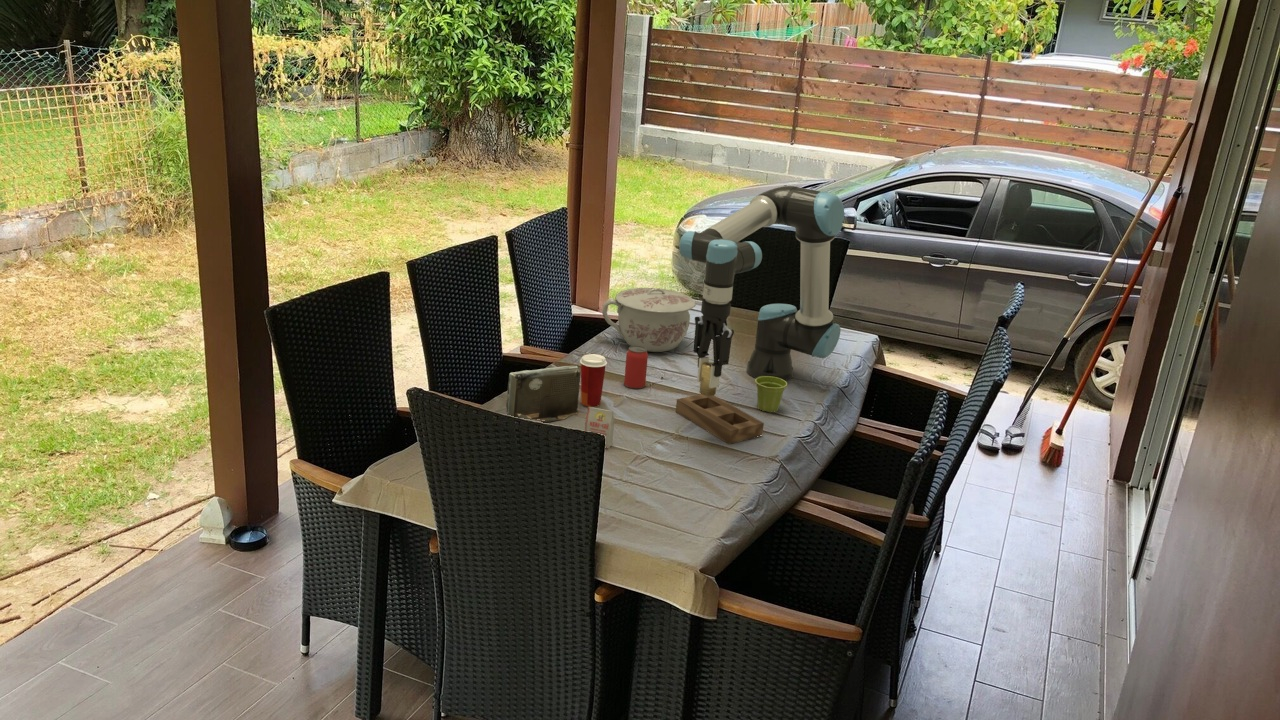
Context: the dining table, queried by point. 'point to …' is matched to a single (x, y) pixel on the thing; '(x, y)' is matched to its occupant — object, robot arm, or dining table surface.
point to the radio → (544, 393)
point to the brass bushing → (706, 380)
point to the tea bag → (600, 423)
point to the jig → (719, 418)
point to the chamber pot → (651, 317)
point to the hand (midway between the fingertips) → (707, 383)
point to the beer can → (636, 367)
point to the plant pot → (769, 392)
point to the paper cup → (592, 379)
